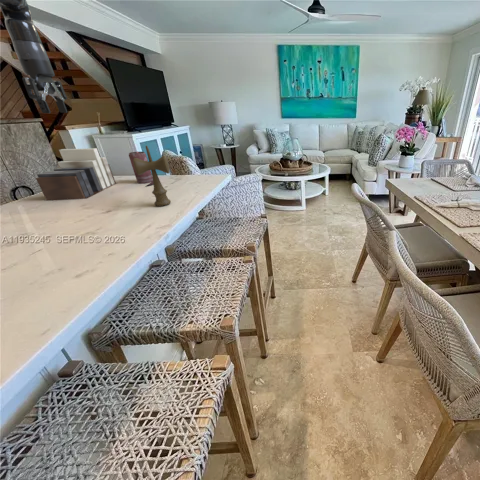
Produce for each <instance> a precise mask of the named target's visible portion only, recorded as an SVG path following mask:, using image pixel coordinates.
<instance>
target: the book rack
mask: <svg viewBox="0 0 480 480" xmlns="http://www.w3.org/2000/svg"><path fill="white" fill-rule="evenodd" d="M100 159H101V161H102V164H103V167H104V169H105V172H106V175H107V177H108V180H109V183H110V186H108V187H106V186H105V183H104V181H103V178H102V175H101V173H100V170H99V167H98V165H97V162H96V160H86V161H64V160H61V161H58V162H57V165H58V167H57V168H53V170H47V171H44V172H40V173H37V174H36V176H37V177H35V180H36V182H37V184H38V186H39V188H40V190H41V192H42V194H43V197H44V198H45V199H44V200H43V201H44V202H45V201H48V202H49V201H67V200H68V201H69V200H87V199H90V198H91V197H93V196H95V195H97V194H99V193H101V192H104V191H105V190H107V189H110V188H111V187H114V186H116V185H118V182H116V180H115V177H114V174H113V172H112V169H111V166H110V164H109V163H108V161H107V158H106V156H103V157H101V156H100Z"/></svg>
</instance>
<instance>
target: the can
mask: <svg viewBox="0 0 480 480" xmlns="http://www.w3.org/2000/svg"><path fill="white" fill-rule="evenodd" d="M128 158H129V160H130V161H129V162H130V164H131V167H132V170H133V174H134V176H135V180H136V182H137V184H138V185H139V184H140V185H141V184H142V185H145V184H147V185H145V186H144V188H145V187H152V186H154V184H153V177H152V172H151V170H149V171H146V172H145V173H143V174H142V175H138V174H137V172H136V170H135V168H134V163H133V160H134V158H138V159H141V160H143V161H149V159H148V156H147V153H146V152H144V151H137V150H136V151H131V152H128Z"/></svg>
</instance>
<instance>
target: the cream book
mask: <svg viewBox="0 0 480 480" xmlns="http://www.w3.org/2000/svg"><path fill="white" fill-rule="evenodd" d="M58 151H59V153H60V156H61V158H62V161H86V160H96V162H97V165H98V167H99V170H100V173H101V175H102V178H103V181H104V183H105V186H106V187H108V186H110V183H109V180H108V177H107V175H106V172H105V169H104V167H103V164H102V161H101V159H100V157H101V156H100V153H99V150H98V148H97V147H94V148H93V147H91V148H88V147H87V148H61V149H58Z"/></svg>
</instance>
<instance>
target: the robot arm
mask: <svg viewBox="0 0 480 480" xmlns="http://www.w3.org/2000/svg"><path fill="white" fill-rule="evenodd" d="M0 10H1V13H2V16H3V17H4V25H5V28H6V30H7V32H8V34H9V37H10V39H11V42H12V46H13V49H14V52H15V54H16V57H17V59H18V61H19V63H20V66H21V68H22V70H23V73H24V74H25V75H27V76H29V77H22V78H21V79H22V82H23V85H24V87H25V90H26V93H27V95H28V97H29V98H30V99H33V100H35V101H36V103H37V104H38V107H39V109H40V111H41V113H42V114H51V112H52V111H51V109H50V107H49V104H48V102H47V101H46V97H47V96H50V97H52V98H53V99H54V101H55V103H56V106H57V109H58V111H59V113H62V114H65V113H66V114H67V113H68V109H67V106H66V103H65V101H66V100H68V96H67V94H66V92H65V89H64V87H63V85H62V81H60V80H54V79H53V77H55V76H56V75H55V72H54V69H53V67H52V63H51V61H50V58H49V56H48V53H47V51H46V49H45V46H44V45H43V42H42V40H41V37H40V35H39V33H38V30H37V28H36V26H35V24H34V20H33V16H32V13H31V10H30V7H29V4H28V1H27V0H0Z"/></svg>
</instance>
